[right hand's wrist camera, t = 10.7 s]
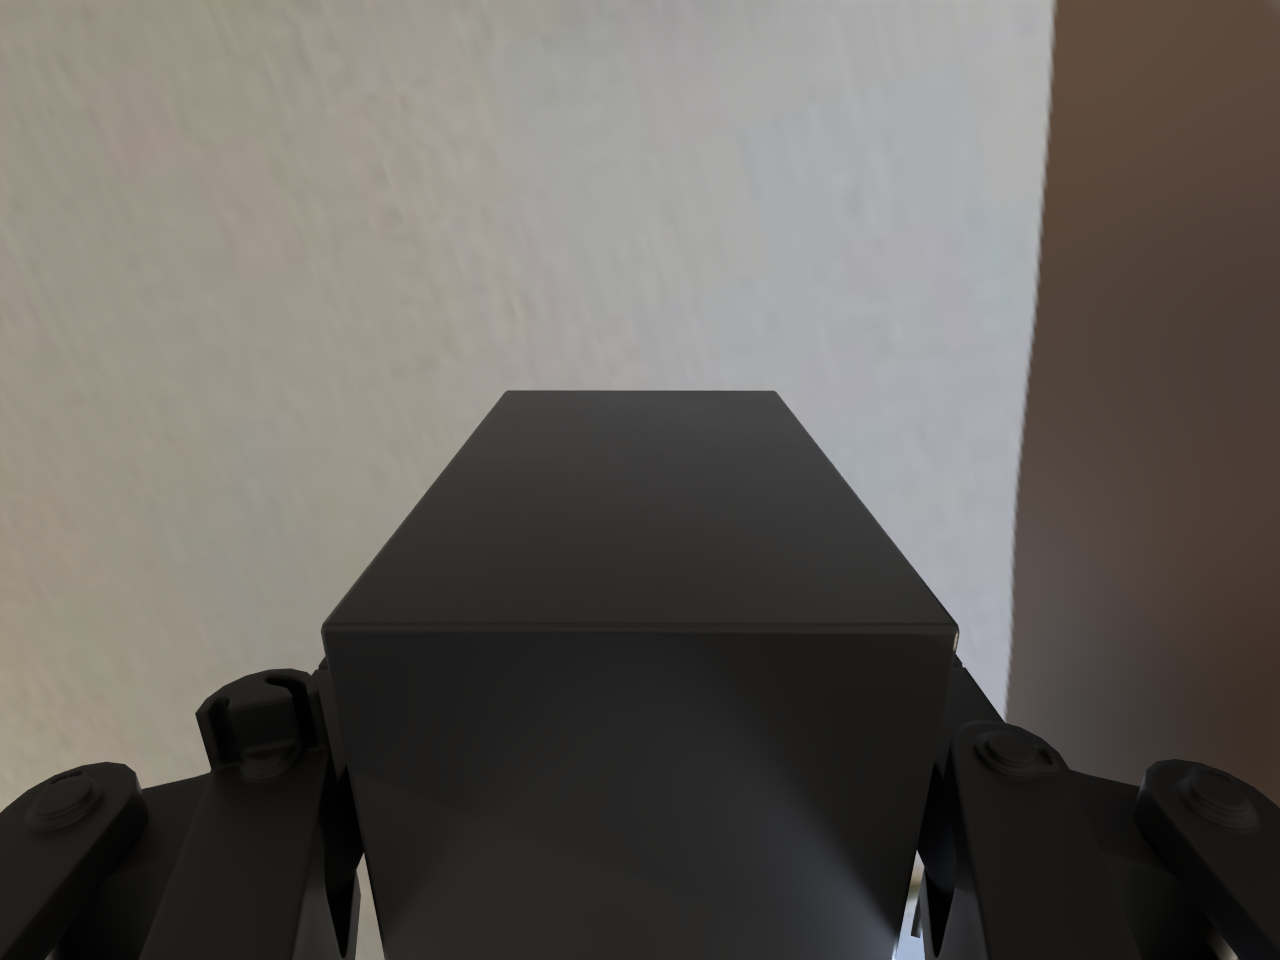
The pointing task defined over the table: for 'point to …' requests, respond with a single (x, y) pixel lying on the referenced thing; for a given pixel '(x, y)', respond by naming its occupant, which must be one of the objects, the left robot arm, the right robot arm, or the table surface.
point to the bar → (640, 693)
